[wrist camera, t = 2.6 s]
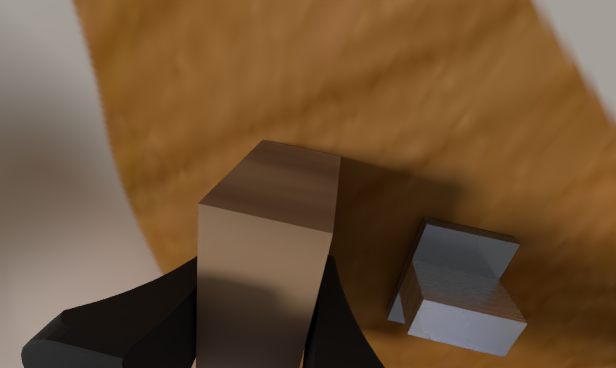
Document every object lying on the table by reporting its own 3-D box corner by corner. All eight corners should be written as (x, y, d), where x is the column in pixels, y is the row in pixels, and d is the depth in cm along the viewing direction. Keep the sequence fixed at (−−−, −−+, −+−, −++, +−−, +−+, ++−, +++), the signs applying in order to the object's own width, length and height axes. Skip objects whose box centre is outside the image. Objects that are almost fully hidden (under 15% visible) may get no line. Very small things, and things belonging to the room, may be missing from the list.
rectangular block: (303, 316, 17) (280, 441, 12) (244, 302, 17) (195, 418, 12) (341, 156, 13) (332, 233, 7) (262, 139, 13) (198, 203, 7)
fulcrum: (460, 328, 16) (483, 386, 13) (386, 310, 16) (393, 363, 13) (513, 236, 13) (555, 284, 10) (423, 217, 13) (442, 259, 11)
